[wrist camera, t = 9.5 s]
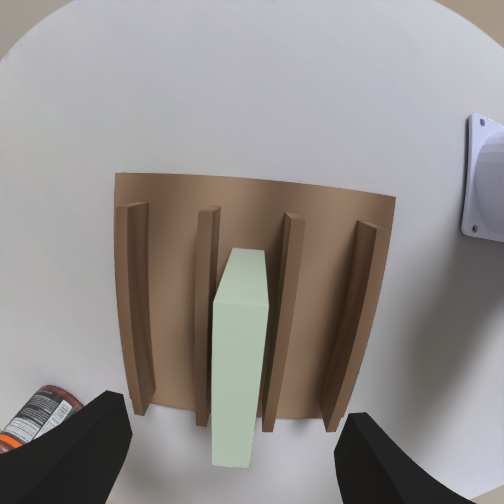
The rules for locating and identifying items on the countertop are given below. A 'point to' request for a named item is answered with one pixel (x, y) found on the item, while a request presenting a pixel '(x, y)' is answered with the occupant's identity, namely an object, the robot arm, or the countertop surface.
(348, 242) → the dish rack
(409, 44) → the countertop surface
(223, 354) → the pale green flat block
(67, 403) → the supplement bottle
